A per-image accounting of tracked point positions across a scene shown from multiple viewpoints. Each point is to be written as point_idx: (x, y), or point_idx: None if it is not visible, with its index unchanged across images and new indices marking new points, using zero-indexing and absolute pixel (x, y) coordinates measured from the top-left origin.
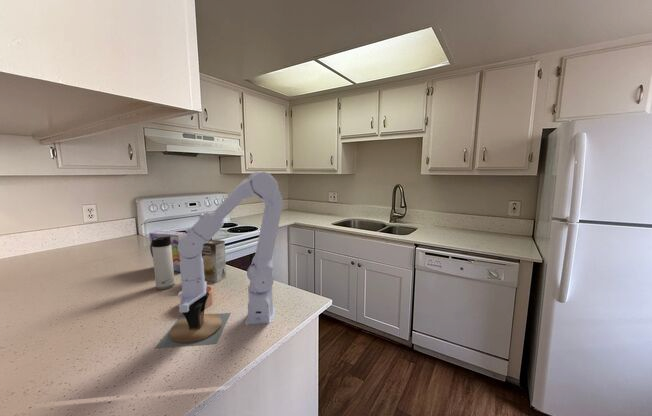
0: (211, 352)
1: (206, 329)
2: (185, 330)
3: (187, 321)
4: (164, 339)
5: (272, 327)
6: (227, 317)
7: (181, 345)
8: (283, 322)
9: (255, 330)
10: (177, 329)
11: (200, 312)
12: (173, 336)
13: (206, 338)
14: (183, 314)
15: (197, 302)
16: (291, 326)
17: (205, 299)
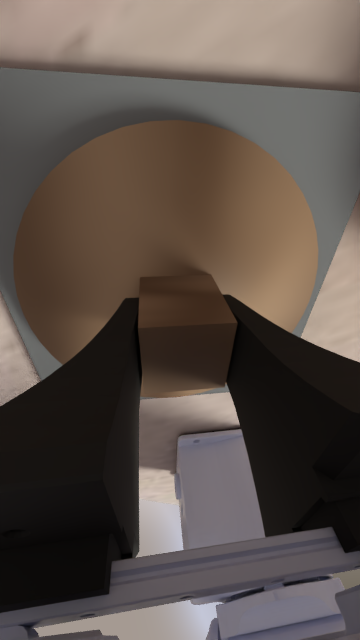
0: (12, 395)
1: None
2: (130, 258)
3: (108, 323)
4: (41, 107)
5: (160, 477)
6: None
7: (1, 280)
8: None
9: (149, 455)
10: (147, 189)
11: (208, 379)
12: (50, 199)
13: None
14: (49, 375)
15: (268, 431)
16: (160, 498)
17: (259, 502)
